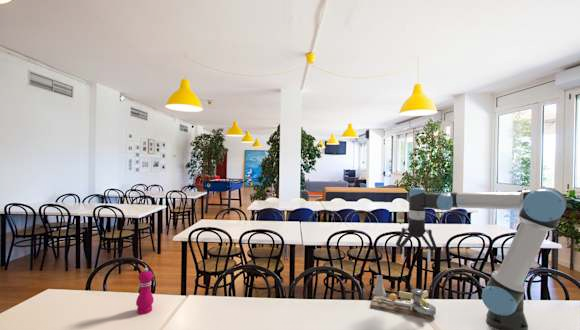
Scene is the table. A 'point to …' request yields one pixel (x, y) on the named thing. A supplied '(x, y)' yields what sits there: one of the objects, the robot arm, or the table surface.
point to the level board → (394, 306)
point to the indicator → (394, 297)
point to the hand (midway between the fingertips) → (415, 261)
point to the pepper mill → (145, 292)
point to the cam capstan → (419, 302)
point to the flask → (379, 287)
